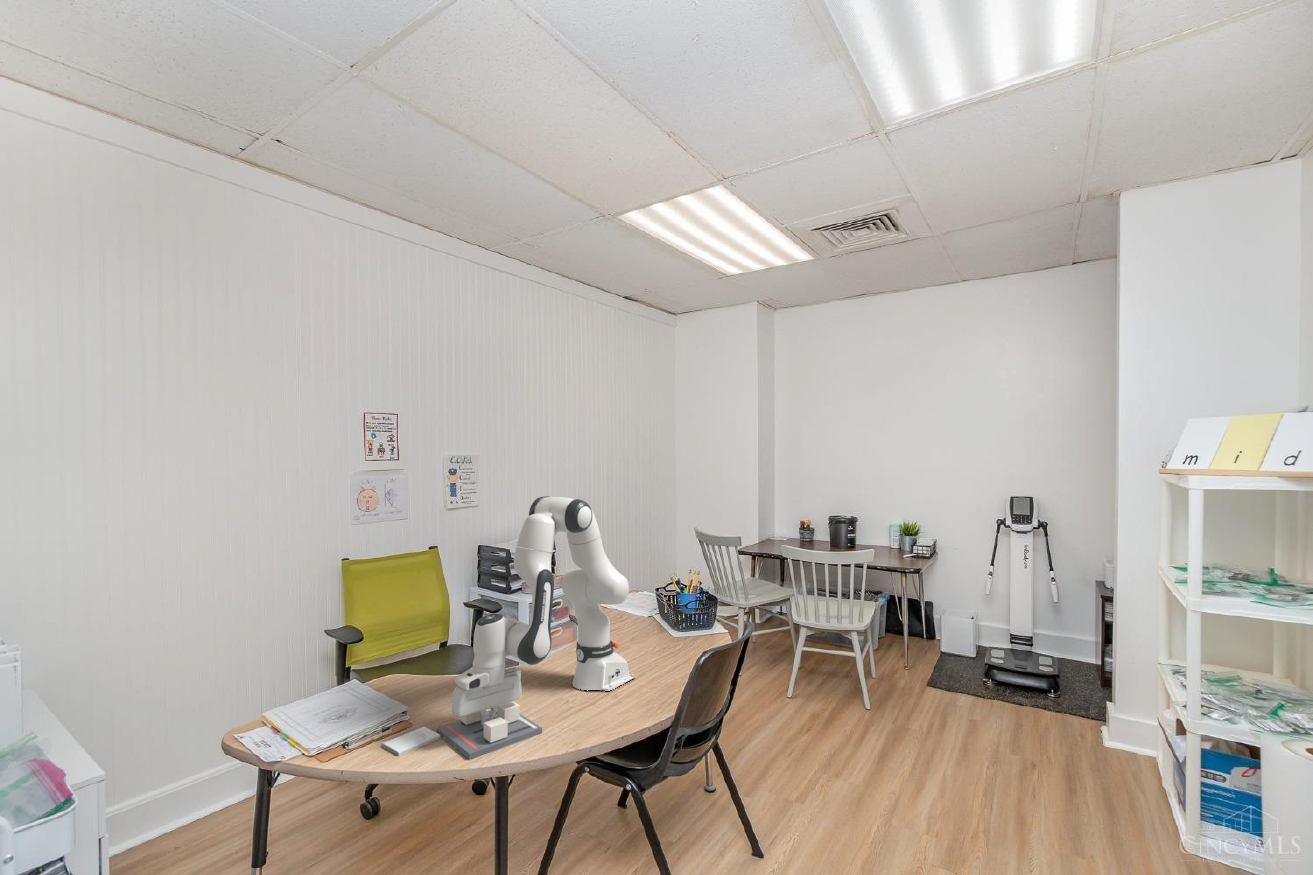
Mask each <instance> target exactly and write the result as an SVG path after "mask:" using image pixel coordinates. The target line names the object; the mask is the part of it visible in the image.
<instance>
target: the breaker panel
mask: <svg viewBox="0 0 1313 875" xmlns="http://www.w3.org/2000/svg"><path fill="white" fill-rule="evenodd" d="M489 713H490V710H487V711H486V713H484V715H485V716H487V715H489ZM497 715H498V710H497V712H496V713H495V715H494V719H496V718H497ZM436 733H438V734H440V738H442V739H443V740H445V741H446V742H447V743H449V745H451V746H452V745H453V746H452V747H453V748H454V749H456V750H457V751H458V752H459V753H461V754H462V755H463V756H464V757H465V758H467V759H468V761H469V760H473V759H475V758H478V757H481V756H483V755H486V754H489V753H491V752H495V751H498V750H500V749H503V748H505V747H508V746H511V745H513V744H515V743H519V742H522V741H524V740H527V739H531V738H532V737H535V736H538V735H541V734H543V727H542V726H540V725H539V724H538V723H535V722H534V721H532V720H530V719H529V718H527V717H526V716H525V715H523V714H521V713H520V720H517V721H514V722H511V723H508V732H507V737H505V738H503V739H500V740H497V741H494V742H491V743H490V742H489V741H488V740H486V739H485V738H484V737H483V736H484V725H482V724H481V720H480V721H477V722H474V723H471V724H468V725H466V724H465V723H463V722H462V721H461V720H460V719H458V720H456V721H453V722H449V723H445V724H442V725H439V726H437V727H436Z"/></svg>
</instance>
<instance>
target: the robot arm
mask: <svg viewBox="0 0 1313 875" xmlns="http://www.w3.org/2000/svg"><path fill="white" fill-rule="evenodd" d="M559 532H560V533H566V539H567V543H568V547H569V552H570V556H571V559H572V562H573V563H574V564H575V565H576V566H577V567H578V568H570V569H568V570H566V572H564V575H563V577H562V579H561V590H562V593H563V594H564V595H565V596H566V597H567V598H568V600H569V601H570V603H571V605H572V607H573V609H574V611H575V615H576V620H577V641H576V646H575V648H576V650H575V651H576V652H575V654H576V664H575V670H574V671H575V672H574V675H573V678H572V679H573V680H572V683H571V684H573V685H572V686H573V687H574V688H575V689H577V690H580V689H581V690H580V691H584V690H587V691H586V692H589V691H588V690H605V691H610V690H612V689H614V690H616V689H617V688H616V687H618V686H619V685H621V684H623V683H624V682H627V681H629V680H630V679H632V678H633V677H631V676H629V675H630V674H629V671H630V670H629V664H628V661H627V660H626V659H625V658H624V657H623V656H621V655H620V654H618V653H617V652H616V651H615V650H614V648H615V649H619V647H620V643H619V641H618V642H617V641H612V640H611V620H610V618H609V615H608V614H606V613H605V612H604V611H603V610H602V608H601V606H600V605H608V606H612V605H613V606H614V605H621V604H623V603H624V602H625V600H627V598H628V597H629V596H628V595H629V593H630V583H629V580H628V579H627V577H626V576H625V575H623V574H621V572H619V571H618V570H617V569H616V568H615V566H614V565H613V563H612V562H611V561H610V559H609V558H608V556H607V554H606V551H605V549H604V545H603V541H602V535H601V532H600V527H599V524H598V521H597V518H596V516H595V513H594V511H593V510H592V508H591V506H590V504H589V503H588V502H587V501H584V500H582V499H580V498H579V499H578V498H572V497H567V496H566V497H565V496H549V495H547V496H546V495H545V496H539V497H537V498H535V499H534V501H532V503H531V505H530V507H529V511H528V517H527V518H525V520H524V523H523V525H522V527H521V530H520V533H519V536H518V539H517V543H516V547H515V551H514V556H513V568H514V570H515V572H516V574H517V576H519V578H520V579H522V580H523V581H524V582H525V583H526V585H527V586H528V587H529V589H530V591H531V595H532V596H531V598H532V599H531V608H530V609H531V610H530V620H529V624H527V623H525V622H522V621H518V620H515V619H510V618H508V617H506V616H504V615H503V614H501V613H488V614H486V615H483V616H482V617H480V618H479V619H478V620H477V621H476V624H475V629H474V633H473V642H472V643H473V645H472V646H473V653H474V655H473V656H474V658H473V660H472V666H471V667H470V668H469V669H467V670H466V671H464V672H462V673H461V674H459V675H457V676H456V677H455V680H454V683H455V685H456V687H455V688H454V690H453V692H452V696H451V697H452V698H451V705H450V706H451V708H450V709H451V713H452V714H453V715H454V716H455V717H457V718H459V719H460V717H463V716H466V715H470V714H473V713H476V712H478V714H479V715H480V717H481V724H482V725H484V722H487V721H490V720H493V719H494V715H495V713H496V712H497V710H498V706H499V705H503V704H506V703H509V702H516V701H518V700H519V701H520V699H521V697H522V693H523V692H522V690H523V689H522V681H521V679H522V671H521V669H520V668H519V667H517V666H514V667H513V666H512V667H511V668H506V658H507V657H509V656H511V657H514V658H516V659H518V660H520V661H522V662H524V663H526V664H527V665H531V666H534V665H538V664H539V663H541V662H543V660H545V659H546V658H547V656H548V655H549V653H550V651H551V648H552V642H553V641H552V632H551V631H552V630H551V626H552V614H553V602H554V594H555V593H554V590H555V579H554V575H553V573H552V572H553V571H552V556H553V552H554V546H555V537H556V535H557V534H558V533H559ZM632 675H635V674H634V673H633V672H632ZM615 688H616V689H615ZM618 688H619V687H618ZM605 691H604V692H605ZM612 691H613V690H612ZM610 692H611V691H610ZM486 710H489V711H490V713H489V715H487V716H485V715H484V713H486V712H487V711H486Z"/></svg>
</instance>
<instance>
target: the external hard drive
mask: <svg viewBox="0 0 1313 875" xmlns="http://www.w3.org/2000/svg"><path fill="white" fill-rule="evenodd" d="M438 738H440V739H441V736H440V734H438V733H437V731H434V730H432V729H430V728H428V727H426V726H422V727H419V728H418V729H415V730H413V731H409V732H407V733H404V734H402V735H400V736H396V737H395V738H392V739H389V740H387V741H385V742H382V743H381V747H382V748H383V749H386V750H387V751H388V752H391V753H392V752H393V753H392V754H394V755H396V756H398V757H400V756H402V755H404V753H405V754H407V753H409V752H412V751H414V750H416V749H419V748H421V747H424V746H426V745H428V744H430V743H432V741H433V742H435V741H437V740H439V739H438ZM436 739H437V740H436ZM406 752H407V753H406Z"/></svg>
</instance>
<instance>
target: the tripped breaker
mask: <svg viewBox="0 0 1313 875" xmlns="http://www.w3.org/2000/svg"><path fill="white" fill-rule="evenodd" d="M520 714H521V705H520V704H518V703H517V702H516V701H513V702H509V703H506V704H503V705H499V706H498V715H497V718H499V717H501V718H502V719H504V720H505V721H507V722H508V723H511V722H514V721H517V720H520Z"/></svg>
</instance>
